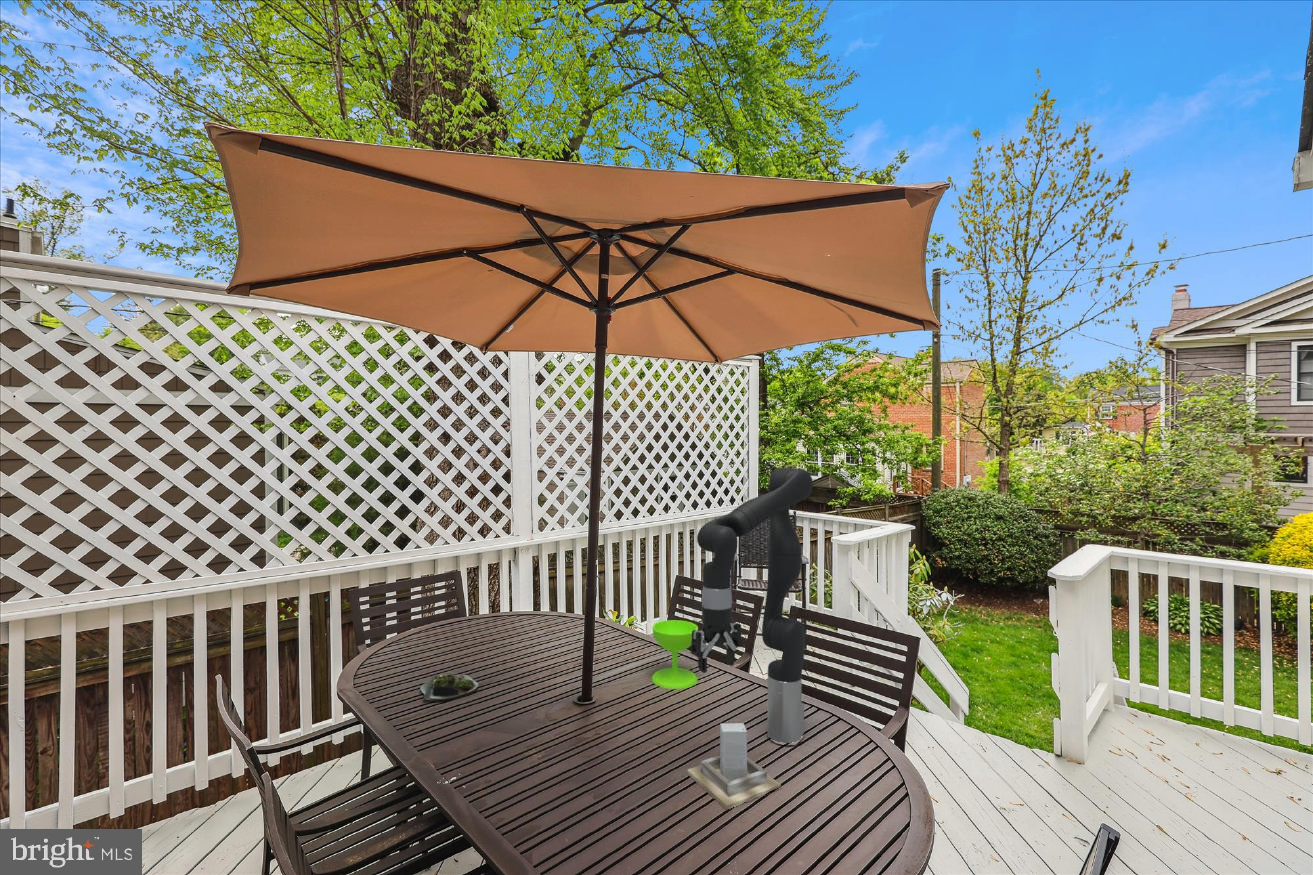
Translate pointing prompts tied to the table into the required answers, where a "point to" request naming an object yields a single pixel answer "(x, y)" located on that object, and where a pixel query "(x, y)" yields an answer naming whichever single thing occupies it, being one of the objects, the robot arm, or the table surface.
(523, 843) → the table surface
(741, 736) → the skincare box
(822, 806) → the table surface
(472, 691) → the salad plate
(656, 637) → the wineglass
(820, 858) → the table surface
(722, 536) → the robot arm
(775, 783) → the socket board
